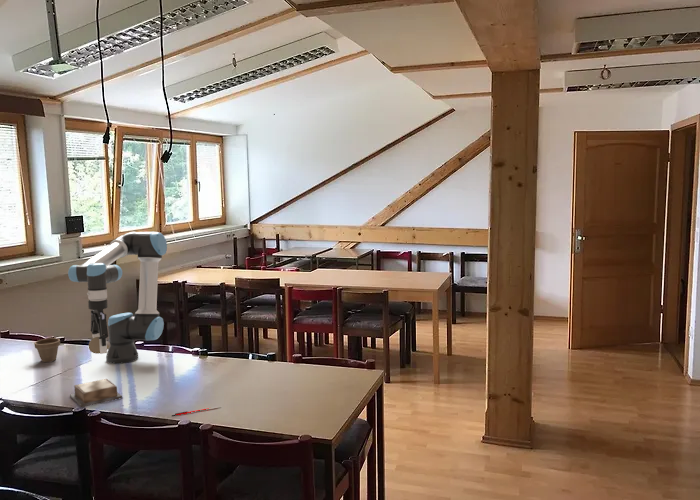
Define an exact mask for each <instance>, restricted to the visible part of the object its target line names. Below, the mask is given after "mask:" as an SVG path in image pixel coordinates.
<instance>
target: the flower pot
mask: <svg viewBox="0 0 700 500" xmlns="http://www.w3.org/2000/svg"><path fill="white" fill-rule="evenodd" d="M60 345H61V340H60V338H56V337H54V338H53V337H52V338H50V337H49V338H43V339H39V340H37V341H35V342H34V348H35V349H37V352H38V355H39V358H40V361H41V362H42V363H50V362H54V361H55V360H57V356H58V350H59V347H60Z"/></svg>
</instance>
